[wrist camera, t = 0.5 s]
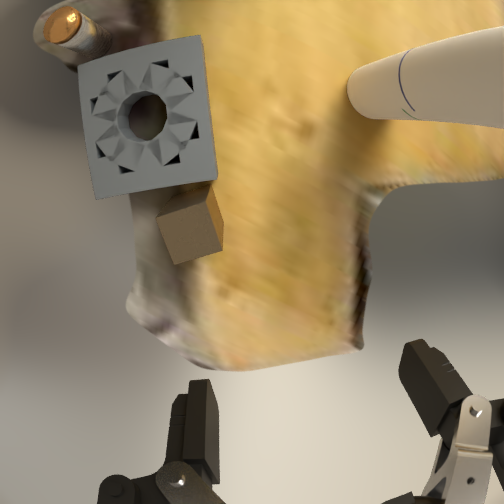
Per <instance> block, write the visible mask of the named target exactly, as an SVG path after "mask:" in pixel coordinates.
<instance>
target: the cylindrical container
mask: <svg viewBox="0 0 504 504" xmlns="http://www.w3.org/2000/svg"><path fill="white" fill-rule="evenodd" d="M347 94H348V97H349V100H350V102H351V104H352V106H353V107H354V108H355V110H356V111H357V112H359V113H360V114H361V115H363V116H365V117H367V118H370V119H394V120H423V121H439V122H451V123H462V124H471V125H480V126H488V127H495V128H501V129H504V26H500V27H495V28H490V29H485V30H480V31H475V32H471V33H467V34H462V35H458V36H454V37H451V38H447V39H443V40H439V41H436V42H432V43H429V44H426V45H422V46H419V47H416V48H413V49H410V50H407V51H404V52H401V53H398V54H395V55H392V56H389V57H386V58H383V59H380V60H378V61H375V62H372V63H370V64H367V65H364V66H362V67H359V68H358V69H356V70H355V71H354V72H353V73H352V74H351V75H350V77H349V80H348V83H347Z"/></svg>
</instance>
